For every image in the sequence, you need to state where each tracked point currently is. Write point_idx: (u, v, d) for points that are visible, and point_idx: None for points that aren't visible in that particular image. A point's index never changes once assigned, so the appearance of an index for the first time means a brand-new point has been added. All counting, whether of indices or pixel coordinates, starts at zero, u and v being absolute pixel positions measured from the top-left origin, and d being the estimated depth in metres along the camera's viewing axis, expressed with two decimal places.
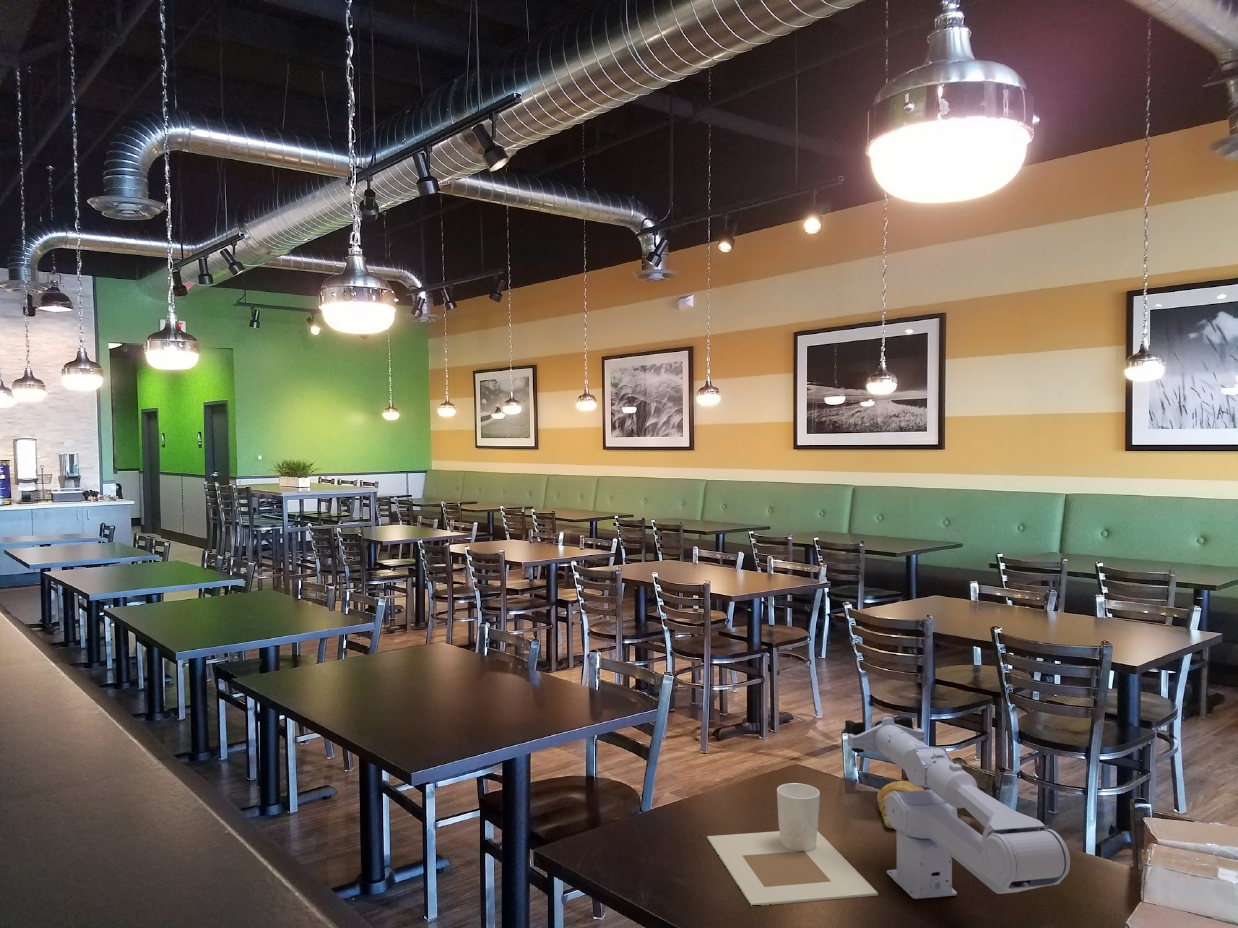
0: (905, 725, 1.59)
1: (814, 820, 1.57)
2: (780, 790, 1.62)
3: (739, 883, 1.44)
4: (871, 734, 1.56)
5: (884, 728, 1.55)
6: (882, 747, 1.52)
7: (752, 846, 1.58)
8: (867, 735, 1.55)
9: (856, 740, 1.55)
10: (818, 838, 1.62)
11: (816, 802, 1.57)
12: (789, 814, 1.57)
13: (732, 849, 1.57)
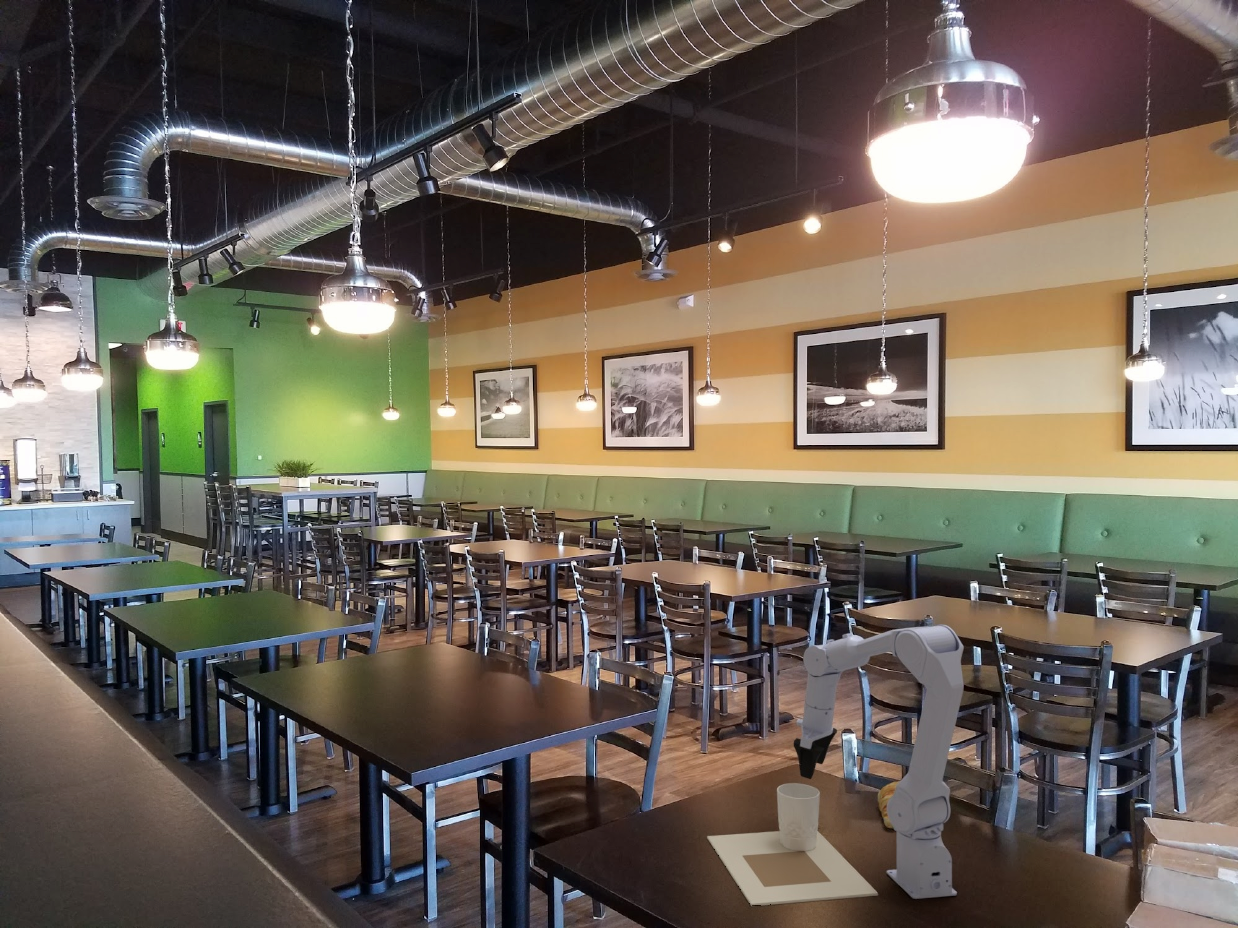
0: None
1: (814, 820, 1.57)
2: (780, 790, 1.62)
3: (739, 883, 1.44)
4: (806, 731, 1.65)
5: (803, 719, 1.67)
6: (815, 715, 1.64)
7: (752, 846, 1.58)
8: None
9: (806, 737, 1.61)
10: (818, 838, 1.62)
11: (816, 802, 1.57)
12: (789, 814, 1.57)
13: (732, 849, 1.57)
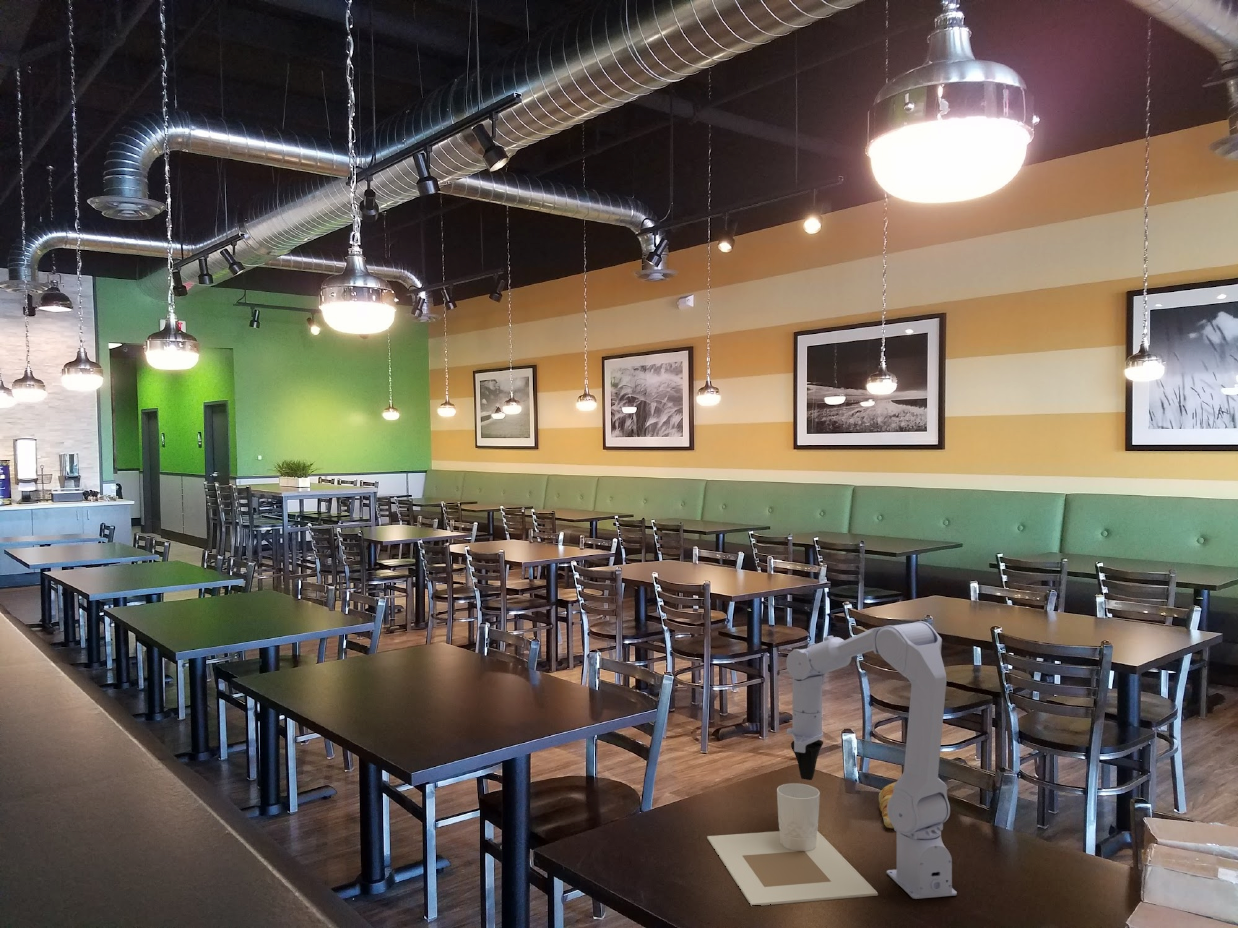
0: None
1: (814, 820, 1.57)
2: (780, 790, 1.62)
3: (739, 883, 1.44)
4: (798, 737, 1.65)
5: (793, 727, 1.67)
6: (805, 720, 1.65)
7: (752, 846, 1.58)
8: None
9: (799, 742, 1.62)
10: (818, 838, 1.62)
11: (816, 802, 1.57)
12: (789, 814, 1.57)
13: (732, 849, 1.57)
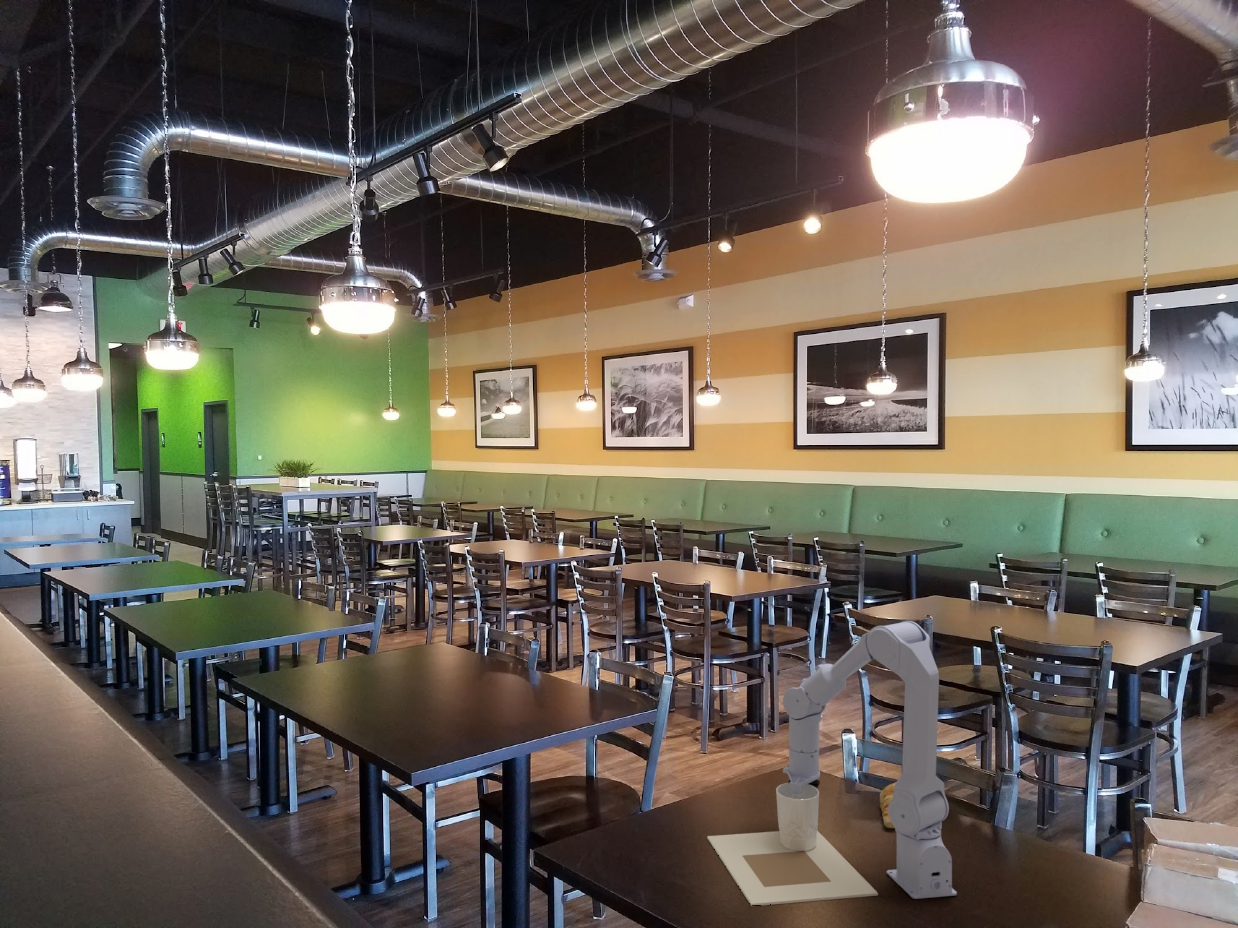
0: None
1: (814, 820, 1.57)
2: (779, 790, 1.61)
3: (739, 883, 1.44)
4: (794, 777, 1.62)
5: (789, 766, 1.65)
6: (801, 759, 1.62)
7: (752, 846, 1.58)
8: None
9: (795, 782, 1.59)
10: (818, 838, 1.62)
11: (816, 803, 1.57)
12: (789, 815, 1.56)
13: (732, 849, 1.57)
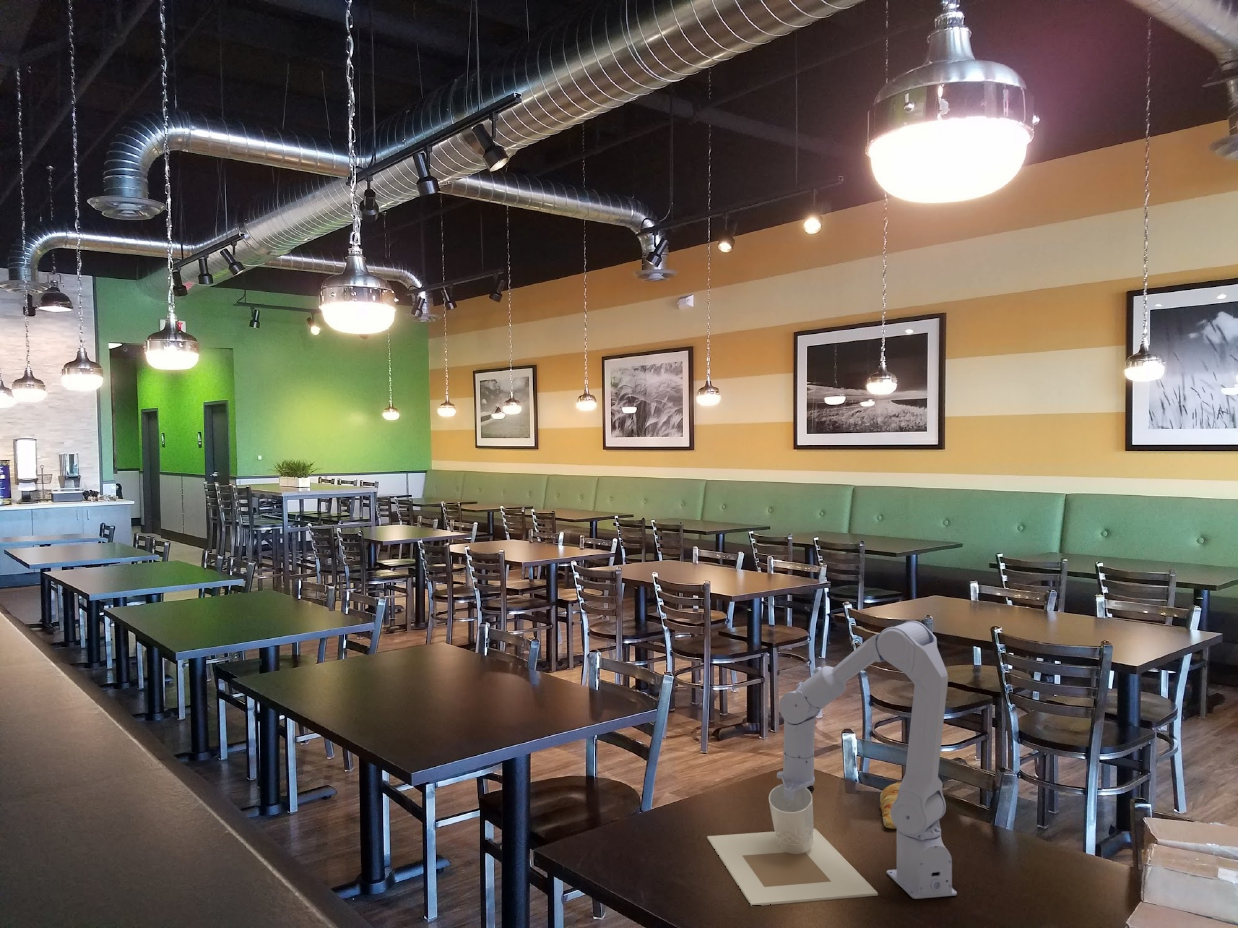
0: None
1: (809, 826, 1.54)
2: (772, 795, 1.57)
3: (739, 883, 1.44)
4: (788, 783, 1.58)
5: (783, 771, 1.61)
6: (796, 765, 1.58)
7: (752, 846, 1.58)
8: None
9: (789, 788, 1.55)
10: (818, 838, 1.62)
11: (809, 810, 1.53)
12: (783, 825, 1.53)
13: (732, 849, 1.57)
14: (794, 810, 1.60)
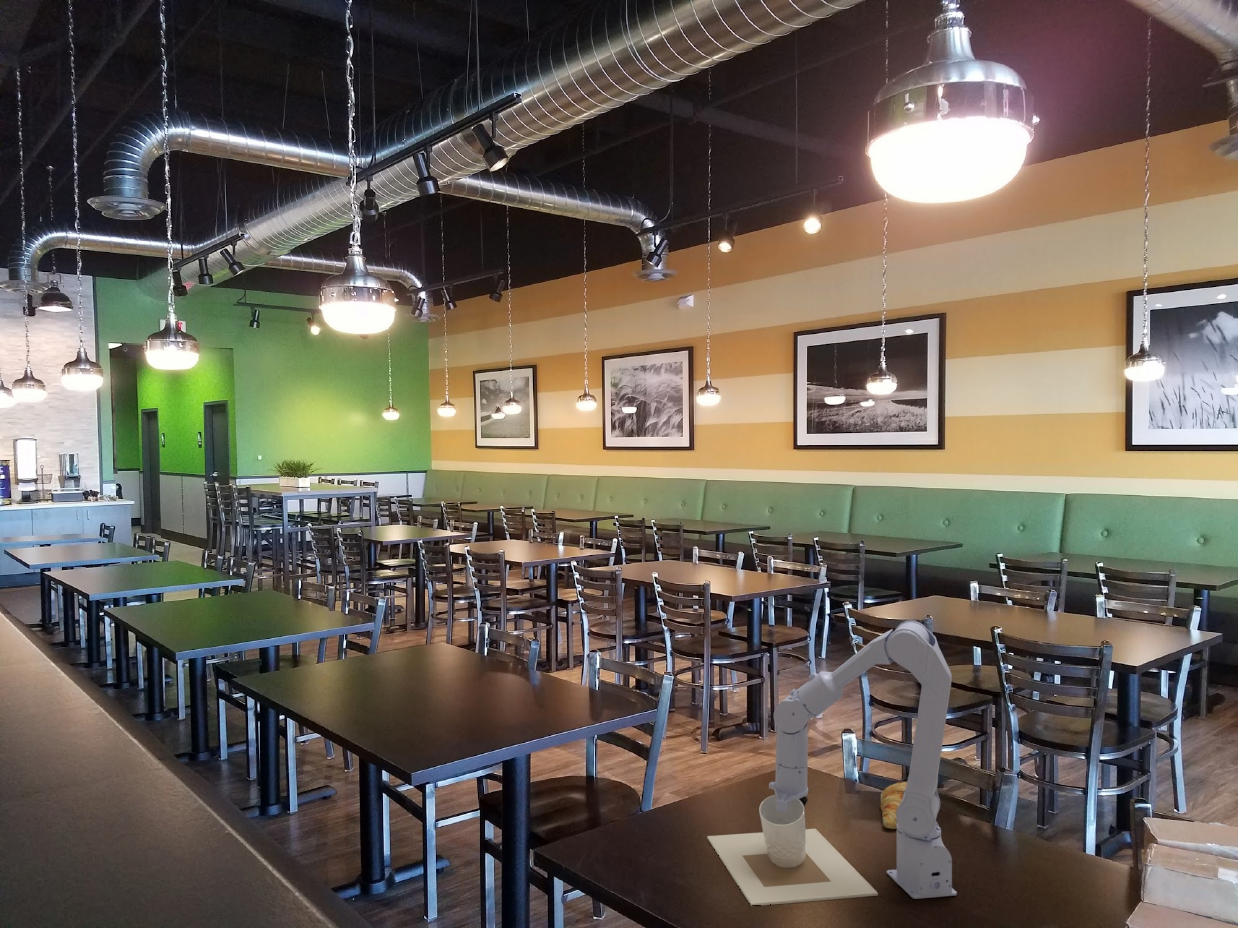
0: None
1: (800, 839, 1.48)
2: (763, 806, 1.52)
3: (739, 883, 1.44)
4: (781, 794, 1.53)
5: (776, 782, 1.55)
6: (788, 775, 1.53)
7: (752, 846, 1.58)
8: None
9: (781, 800, 1.50)
10: (818, 838, 1.62)
11: (801, 823, 1.47)
12: (773, 838, 1.48)
13: (732, 849, 1.57)
14: (786, 822, 1.54)
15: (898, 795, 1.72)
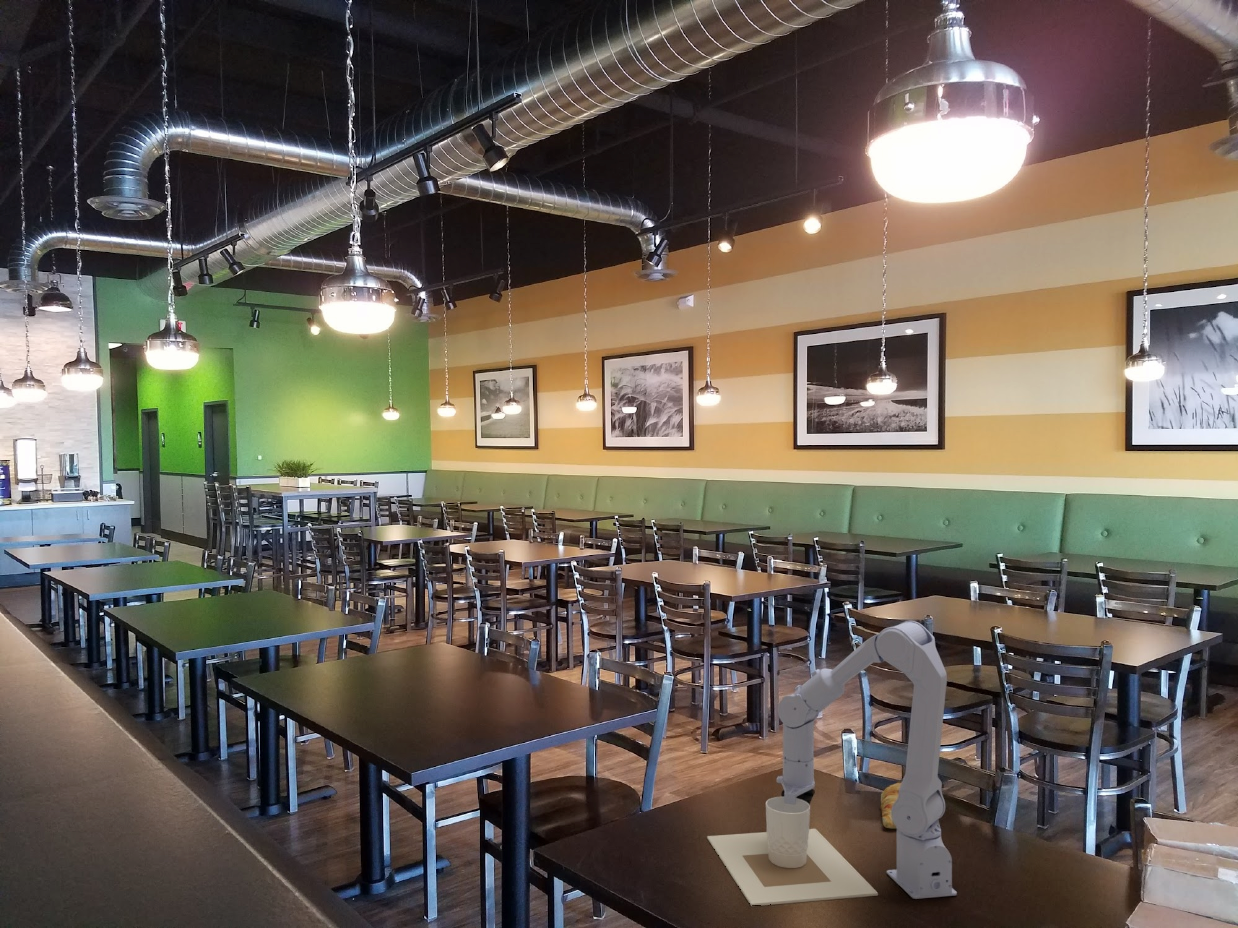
0: None
1: (803, 836, 1.50)
2: (769, 803, 1.55)
3: (739, 883, 1.44)
4: (788, 787, 1.57)
5: (783, 776, 1.60)
6: (795, 769, 1.57)
7: (752, 846, 1.58)
8: None
9: (789, 793, 1.54)
10: (818, 838, 1.62)
11: (806, 818, 1.50)
12: (777, 829, 1.50)
13: (732, 849, 1.57)
14: None
15: None
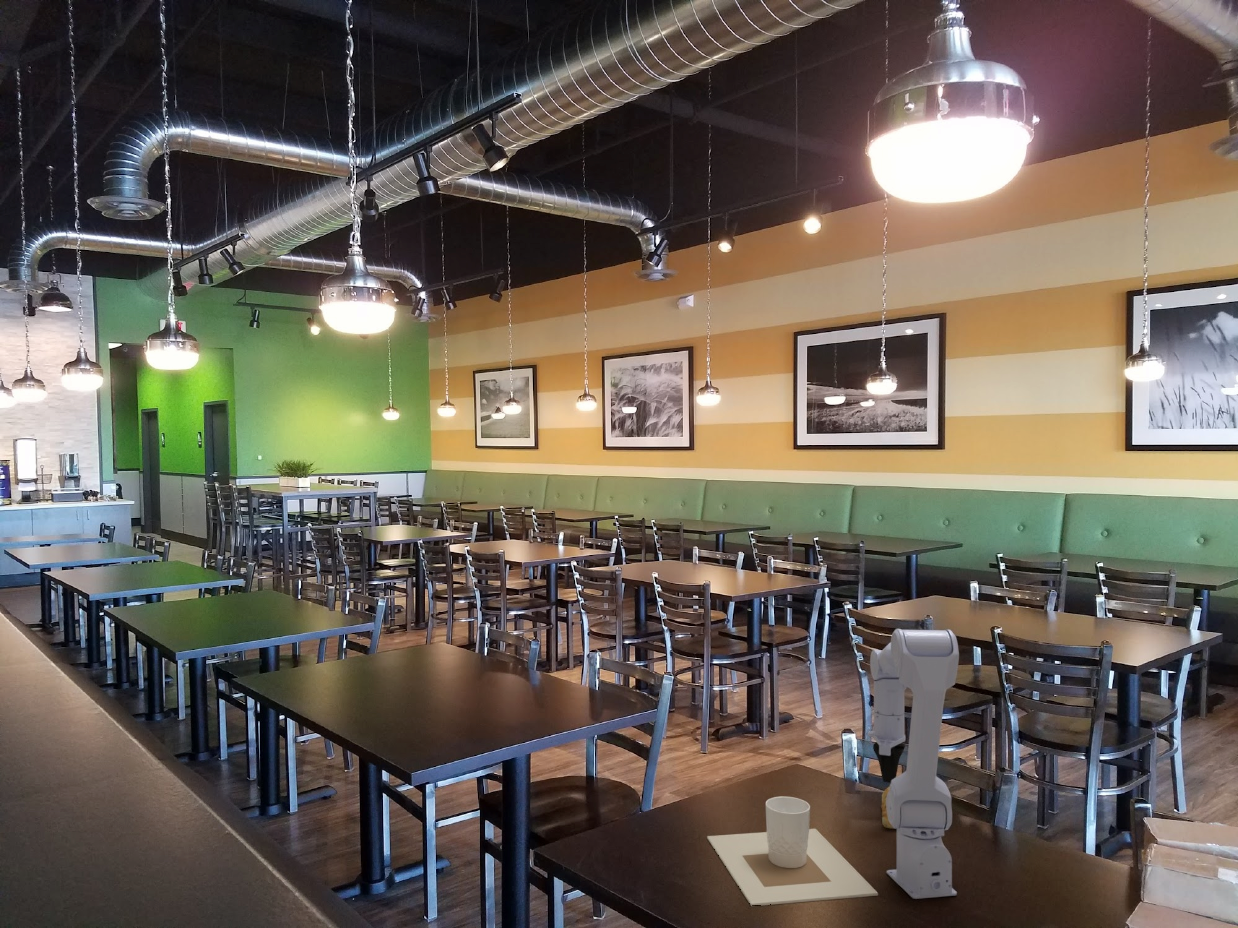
0: None
1: (803, 836, 1.50)
2: (769, 803, 1.55)
3: (739, 883, 1.44)
4: None
5: (875, 729, 1.66)
6: (888, 722, 1.64)
7: (752, 846, 1.58)
8: None
9: (883, 744, 1.61)
10: (818, 838, 1.62)
11: (806, 818, 1.50)
12: (777, 829, 1.50)
13: (732, 849, 1.57)
14: None
15: None
